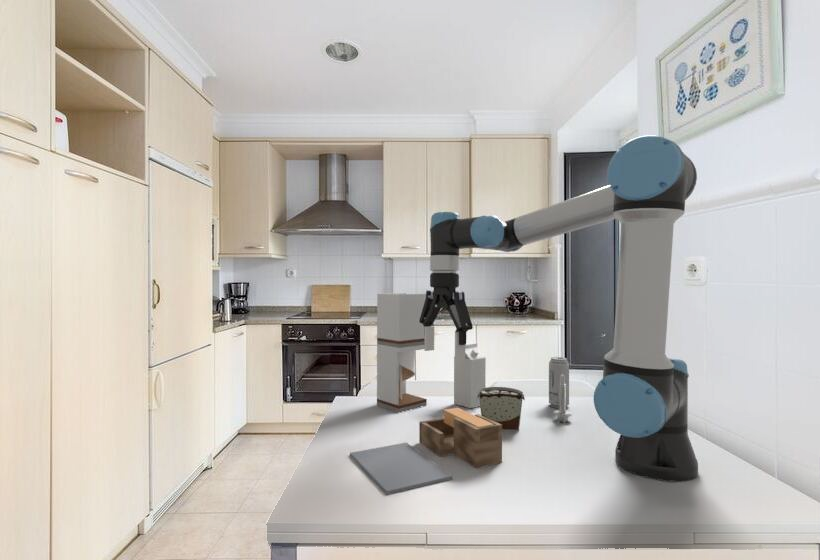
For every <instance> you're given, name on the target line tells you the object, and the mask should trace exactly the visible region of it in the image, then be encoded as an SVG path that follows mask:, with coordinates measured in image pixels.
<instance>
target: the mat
mask: <svg viewBox="0 0 820 560" xmlns="http://www.w3.org/2000/svg"><path fill="white" fill-rule="evenodd" d="M349 457H351V458H352V459H353V460H354V461H355V463H356V464H358V466H359V467H360V468H361V469H362V470H363V471H364V472H365V473H366V474H367V475H368V476H369V477H370V478H371V479H372V480H373V482H374V483H375V484H376V485H377V486H378V487H379V488H380V489H381V491H383V492H384V493H385V494H386V495H391V494H394V493H398V492H399V493H400V492H403V491H408V490H411V489H416V488H421V487H424V486H428V485H429V486H430V485H432V484H437V483H441V482H444V481H445V482H446V481H449V480H453V475H451V473H449V472H448V471H446V470H445V469H444V468H442V467H441V466H439V465H438V464H437V463H435V462H434V461H433V460H432V459H430V458H429V457H427V456H426V455H424V454H423V453H422V452H420V450H419V451H418V450H417V449H416V448H415V447H413V445H410V444H409V443H407V442H403V443H402V442H401V443H396V444H391V445H386V446H380V447H375V448H369V449H362V450H358V451H353V452H350V453H349Z"/></svg>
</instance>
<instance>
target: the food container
mask: <svg viewBox="0 0 820 560" xmlns="http://www.w3.org/2000/svg"><path fill="white" fill-rule="evenodd" d="M478 397H479V398H480V406H479V407H480V408H479V409H480V415H482V416H484V417H486V418H488V419H491V420H493V421H495V422H497V423H499V424H502V431H512V432H513V431H515V432H516V431H517V432H520V425H521V424H520V423H521V416H522V407H523V401H526V399H525V395H524V392H523V391H522V390H520V389H517V388H512V387H506V386H489V387H488V386H487V387H486V386H485V388H482V389H480V390H479V392H478V396H477V399H478Z"/></svg>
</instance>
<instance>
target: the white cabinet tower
mask: <svg viewBox="0 0 820 560" xmlns="http://www.w3.org/2000/svg"><path fill="white" fill-rule="evenodd" d="M376 297H377V303H376V305H377V308H376V312H377V313H376V316H377V317H376V319H377V320H376V323H377V324H376V406H378V407H381V408H383V407H384V409H386V408H387V410H389V409H390V411H392V410H394V411H393V412H395V411H396V413H398V412H400V413H403V412H402V411H404V412H407V411H406V410H408V411H411V410H410V409H412V410H414V408H415V409H419V408H422V407H421V406H423V407H426V405H427V404H428V403H427V401H428V400H427V398H424V397H421V396H418V395H414V394H410V393H407V380H409V379H411V378H413V377H414V376H415V375H416V351H419V350H420V351H421V350H424V348H425V337H424V326H423V324H422V323H420V322H419V320H420V316H421V313H422V309H423V306H424V302H425V299H426V293H405V292H402V293H400V292H398V293H397V292H395V293H377V295H376ZM424 319H425V318H424ZM418 407H419V408H418Z"/></svg>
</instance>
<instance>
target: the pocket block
mask: <svg viewBox="0 0 820 560" xmlns="http://www.w3.org/2000/svg"><path fill="white" fill-rule="evenodd" d="M474 415H475V416H477V417H479V418H481V419H483V420H486V421H488V422H490V423H492V424H494V425H492V426H486V427H481V428H478V427H476V426H474V425H472V424H470V423H467V422H465V421H463V420H461V419H459V418H454V428H453V427H451V426H450V425H448V424H446V423H444V417H442V418H441V417H440V418H434V419H429V420H423V421H419V423H418V424H419V425H418V426H419V427H418V428H419V430H418V431H419V433H418V434H419V438H418V439H419V440H418V441H419V444H420V445H422V446H423V447H425V448H427V450H429V451H431V452H432V453H434V454H435V455H436V456H438V457H439V458H440V457H445V456H449V455H450V456H451V455H455V456H456V457H458V458H459V459H461V460H462V461H464V462H465V463H467V464H468V465H470V466H472V467H474V468H475V469H478V468H483V467H487V466H490V465H491V466H492V465H495V464H500V463H503V430H502V424H499V423H497V422H495V421H493V420H491V419H488V418H486V417H484V416H482V415H481V414H479V413H478V414H477V413H476V414H474Z"/></svg>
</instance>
